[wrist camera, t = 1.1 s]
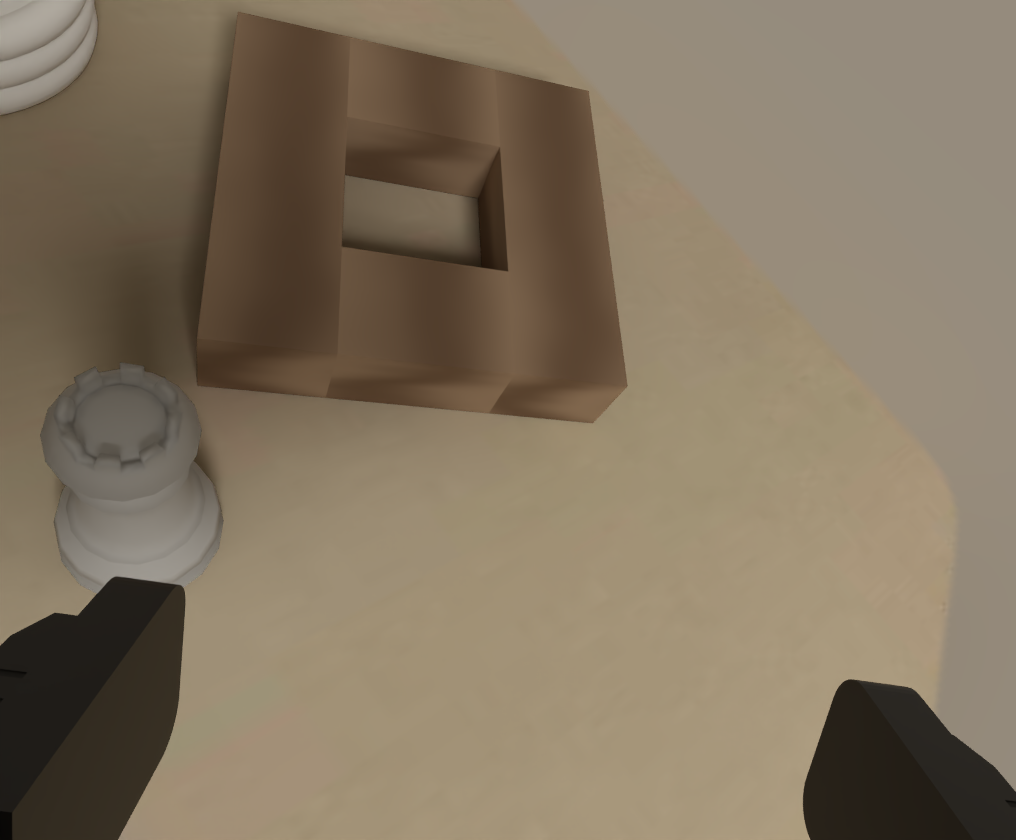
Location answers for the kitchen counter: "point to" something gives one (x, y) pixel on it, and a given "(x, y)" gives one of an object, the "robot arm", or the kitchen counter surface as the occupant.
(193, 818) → the kitchen counter surface
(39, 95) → the coaster
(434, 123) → the socket block
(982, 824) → the robot arm
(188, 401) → the rook chess piece
